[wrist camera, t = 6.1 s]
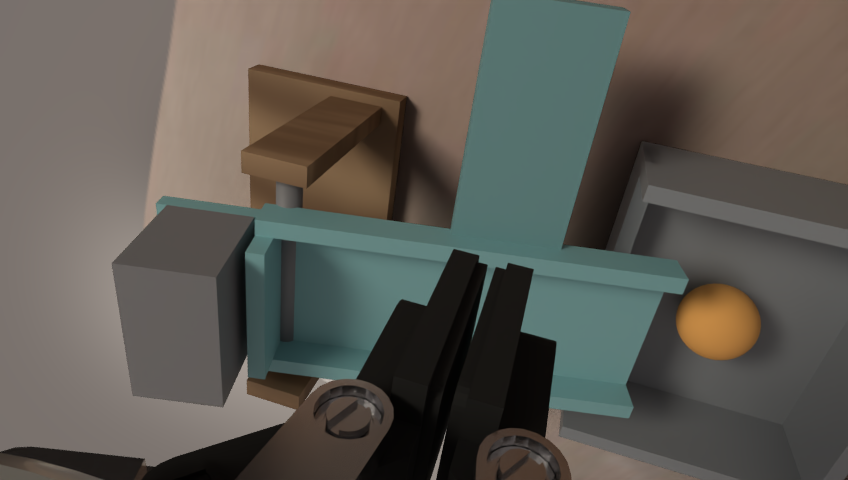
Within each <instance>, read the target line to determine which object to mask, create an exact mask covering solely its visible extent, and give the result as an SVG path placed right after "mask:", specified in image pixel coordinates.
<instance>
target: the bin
mask: <svg viewBox="0 0 848 480" xmlns="http://www.w3.org/2000/svg"><path fill="white" fill-rule="evenodd" d="M605 250H606V251H613V252H620V253H628V254H635V255H642V256H649V257H656V258H664V259H671V260H677V261H678V263H679V264H680V266H681V268H682V269H683V271H684V273H685V274H686V276H687V277H688V279H689V281H688V283H687V285H686V288H685V290H684V292H683V295H682V294H675V293H667V292H664V293H663V296H662V298H661V300H660V303H659V305H658V308H657V310H656V312H655V315H654V317H653V320H652V322H651V325H650V327H649V329H648V332H647V334H646V337H645V339H644V342H643V344H642V346H641V349H640V351H639V354H638V356H637V358H636V361H635V363H634V366H633V368H632V371H631V373H630V375H629V378H628V380H627V383H626V387H627V390H628V393H629V396H630V398H631V401H632V404H633V407H634V408H633V410H632V412H631V415H630V417H629V418H621V417H614V416H606V415H598V414H591V413H583V412H576V411H568V410H561V419H560V429H559V436H560V437H563V438H567V439H570V440H573V441H576V442H580V443H583V444H586V445H590V446H593V447H596V448H599V449H603V450H606V451H609V452H613V453H616V454H619V455H623V456H626V457H629V458H632V459H636V460H639V461H642V462H646V463H649V464H652V465H656V466H659V467H662V468H665V469H669V470H672V471H675V472H679V473H682V474H685V475H688V476H692V477H695V478H698V479H702V480H844V479H845V478H846V476H847V475H848V185H846V184H841V183H836V182H832V181H827V180H822V179H818V178H813V177H808V176H803V175H799V174H794V173H789V172H785V171H780V170H775V169H771V168H766V167H761V166H757V165H752V164H747V163H743V162H738V161H733V160H729V159H724V158H719V157H715V156H710V155H705V154H700V153H696V152H691V151H686V150H682V149H677V148H672V147H668V146H663V145H658V144H654V143H649V142H644V141H642V142H641V145H640V148H639V151H638V154H637V157H636V160H635V163H634V166H633V169H632V172H631V175H630V178H629V181H628V184H627V187H626V190H625V193H624V196H623V199H622V202H621V205H620V208H619V211H618V213H617V216H616V219H615V222H614V225H613V228H612V231H611V234H610V237H609V240H608V243H607V246H606V249H605ZM706 284H726V285H729V286H733V287H735V288H737V289H739V290H741V291H742V292H744V293H745V294H746V295H748V297H749V298H750V299H751V300H752V301H753V302H754V304H755V305H756V307H757V309H758V311H759V315H760V319H761V330H760V334H759V337H758V339H757V341H756V343H755V344H754V345H753V347H752V348H751V349H750V350H749V351H747V352H746V353H745V354H743V355H741V356H739V357H737V358H734V359H730V360H712V359H708V358H705V357H702V356H700V355H698V354H696V353H695V352H693V351H692V350H691V349H689V348H688V347H687V346H686V344H685V343H684V342H683V341H682V339H681V337H680V335H679V333H678V330H677V326H676V313H677V309H678V306H679V304H680V302H681V301H682V299H683V298H684V297H685V296H686V295H687V294H688V293H689V292H690V291H692V290H693V289H695V288H697V287H700V286H702V285H706Z"/></svg>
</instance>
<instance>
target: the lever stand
mask: <svg viewBox="0 0 848 480" xmlns="http://www.w3.org/2000/svg"><path fill="white" fill-rule="evenodd" d="M248 79H249V137H250V146H248V147H246V148H245V149H243V150H242V151H241V168H242V173H245V174H249V175H250V195H251V208H255V209H262V207H263V206H264V204H265V203H268V204H275V205H276V181H277V182H281V183H285V184H289V185H293V186H297V187H301V188H303V208H304V209H311V210H319V211H326V212H333V213H340V214H347V215H354V216H362V217H369V218H376V219H383V220H390V221H392V215H393V207H394V199H395V190H396V182H397V173H398V165H399V157H400V148H401V140H402V132H403V123H404V115H405V107H406V98H407V96H403V95H399V94H394V93H389V92H385V91H380V90H375V89H371V88H366V87H361V86H357V85H352V84H348V83H343V82H338V81H334V80H329V79H324V78H320V77H315V76H310V75H306V74H301V73H296V72H292V71H287V70H282V69H278V68H273V67H269V66H264V65H257V66H254V67H252V68H249V69H248ZM318 379H319V378H317V377H310V376H302V375H294V374H287V373H279V372H272V371H268V373H267V375H266V378H265V379H257V378H250V377H249V378H248V379H247V394H249V395H252V396H255V397H258V398H262V399H265V400H268V401H271V402H274V403H277V404H280V405H283V406H287V407H290V408H293V409H296V410H297V409H298V408H299V407H300V406H301V404H302V403H303V402H304V401H305V399H306V398H307V396H308V395H309V393H310V392H311V390H312V388H313V387H314V385H315V384H316V382H317V381H318Z"/></svg>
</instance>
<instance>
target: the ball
mask: <svg viewBox="0 0 848 480" xmlns="http://www.w3.org/2000/svg"><path fill="white" fill-rule="evenodd" d="M676 326H677V330H678V333H679V335H680V337H681V339H682V341H683V342H684V343H685V344H686V346H687V347H688V348H689V349H691V350H692V351H693V352H695V353H696V354H698V355H700V356H702V357H705V358H708V359H712V360H730V359H734V358H737V357H739V356H741V355H743V354H745V353H746V352H747V351H749V350H750V349H751V348H752V347H753V345H754V344H755V343H756V341H757V339H758V337H759V334H760V330H761V319H760V315H759V311H758V309H757V307H756V305H755V304H754V302H753V301H752V300H751V299H750V298H749V297H748V295H746V294H745V293H744V292H742V291H741V290H739V289H737V288H735V287H733V286H729V285H726V284H706V285H702V286H700V287H697V288H695V289H693V290H692V291H690V292H689V293H688V294H687V295H686V296H685V297H684V298H683V299H682V301H681V302H680V304H679V306H678V309H677V313H676Z"/></svg>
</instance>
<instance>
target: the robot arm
mask: <svg viewBox="0 0 848 480" xmlns="http://www.w3.org/2000/svg"><path fill="white" fill-rule="evenodd" d="M487 267H488V265H487V264H483V263H480V262H479V255H476V254H472V253H468V252H464V251H460V250H457V249H453V251H452V253H451V255H450V257H449V259H448V261H447V264H446V266H445V268H444V270H443V272H442V274H441V276H440V278H439V281H438V283H437V285H436V287H435V289H434V291H433V293H432V295H431V297H430V300H429V302H428V304H427V306H425V305H422V304H418V303H414V302H411V301H407V300H403V299H401V300H400V301H399V302H398V304H397V305H396V307H395V309H394V311H393V313H392V315H391V316H390V318H389V320H388V322H387V324H386V325H385V327H384V329H383V331H382V333H381V335H380V336H379V338H378V340H377V342H376V344H375V345H374V347H373V349H372V351H371V353H370V355H369V356H368V358H367V360H366V362H365V364H364V366H363V367H362V369H361V371H360V373H359V375H358V376H357V378H356V379H340V380H335V381H331V382H328V383H326V384H324V385H322V386H320V387H319V388H317V389H316V390H315V391H314V392H312V393H311V394H310V395H309V397H308V398H307V399H306V400H305V401H304V402H303V403H302V404H301V406H300V407H299V408H298V409H297V410H296V411H295V412H294V413H293V415H292V416H291V417H290V418H289V419H288V420H287V421H286V422H285V423H283V424H279V425H276V426H273V427H270V428H267V429H263V430H260V431H257V432H254V433H251V434H247V435H244V436H241V437H238V438H234V439H231V440H228V441H225V442H222V443H219V444H215V445H212V446H209V447H206V448H202V449H199V450H196V451H193V452H190V453H186V454H183V455H180V456H177V457H174V458H172V459H169V460H167V461H165V462H163V463H160V464H159V465H157V466H156V467H153V466H146V462H145V459H143V458H133V457H124V456H115V455H105V454H96V453H87V452H77V451H67V450H59V449H49V448H40V447H15V448H11V449H8V450H5V451H1V452H0V480H430V479H431V476H432V473H433V470H434V467H435V463H436V460H437V457H438V454H439V451H440V448H441V445H442V442H443V439H444V435H445V432H446V435H445V440H444V445H443V450H442V454H441V459H440V465H439V469H438V474H437V478H436V480H571V473H570V469H569V466H568V462H567V460H566V459H565V457H564V456H563V454H562V453H561V451H560V450H559V449H558V448H557V447H556V446H555V445H554V444H553V443H552V442H550V441H549V440H548V439H546V438H545V435H546V427H547V419H548V411H549V403H550V395H551V387H552V379H553V371H554V363H555V355H556V346H557V342H556V341H554V340H550V339H547V338H543V337H539V336H536V335H532V334H528V333H524V332H521V327H522V322H523V318H524V313H525V308H526V304H527V299H528V295H529V290H530V285H531V281H532V276H533V271H534V269H532V268H528V267H524V266H520V265H516V264H512V263H508V264H507V267H506V269H503V268H499V267H496V268H495V271H494V274H493V277H492V280H491V283H490V286H489V289H488V292H487V295H486V298H485V301H484V304H483V307H482V311H481V314H480V317H479V320H478V323H477V326H476V329H475V332H474V327H475V323H476V318H477V313H478V309H479V304H480V300H481V295H482V291H483V286H484V281H485V277H486V272H487ZM473 332H474V335H473ZM472 336H473V338H472ZM446 429H447V431H446Z"/></svg>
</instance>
